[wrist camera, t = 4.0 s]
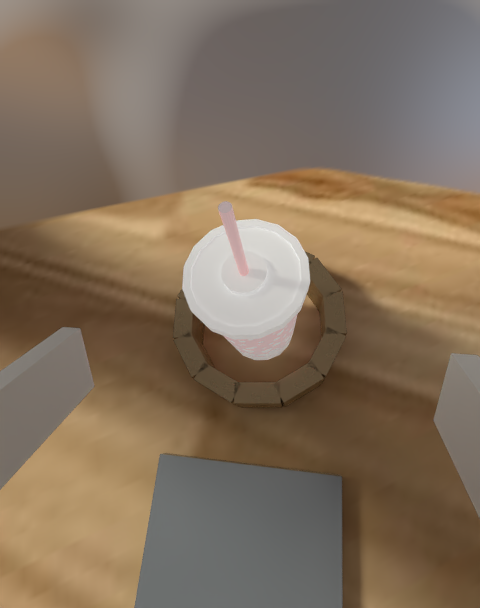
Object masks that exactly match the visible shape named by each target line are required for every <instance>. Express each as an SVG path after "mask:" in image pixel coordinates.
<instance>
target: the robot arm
mask: <svg viewBox="0 0 480 608" xmlns="http://www.w3.org/2000/svg"><path fill="white" fill-rule="evenodd" d="M93 388H94V382H93V378H92V374H91V370H90V366H89V362H88V358H87V354H86V349H85V345H84V341H83V337H82V333H81V329H80V328H70V327H62V328H61V329H59V330H58V331H56V332H55V333H53V334H52V335H51V336H49V337H48V338H46V339H45V340H44V341H42V342H41V343H39V344H38V345H37V346H35V347H34V348H32V349H31V350H30V351H28V352H27V353H25V354H24V355H23V356H21V357H20V358H18V359H17V360H15V361H14V362H13V363H11V364H10V365H8V366H7V367H6V368H4V369H3V370H1V371H0V489H1V488H2V487H3V486H4V485H5V484H6V483H7V482H8V481H9V480H10V479H11V477H12V476H13V475H14V474H15V473H16V472H17V471H18V470H19V469H20V468H21V466H22V465H23V464H24V463H25V462H26V461H27V460H28V459H29V458H30V457H31V456H32V454H33V453H34V452H35V451H36V450H37V449H38V448H39V447H40V446H41V445H42V443H43V442H44V441H45V440H46V439H47V438H48V437H49V436H50V435H51V434H52V432H53V431H54V430H55V429H56V428H57V427H58V426H59V425H60V424H61V423H62V422H63V420H64V419H65V418H66V417H67V416H68V415H69V414H70V413H71V412H72V411H73V409H74V408H75V407H76V406H77V405H78V404H79V403H80V402H81V401H82V400H83V399H84V397H85V396H86V395H87V394H88V393H89V392H90V391H91V390H92V389H93ZM433 421H434V423H435V425H436V427H437V429H438V431H439V433H440V435H441V438H442V440H443V442H444V444H445V446H446V448H447V450H448V452H449V455H450V457H451V459H452V461H453V463H454V465H455V467H456V469H457V472H458V474H459V476H460V478H461V480H462V482H463V484H464V486H465V489H466V491H467V493H468V495H469V497H470V499H471V501H472V503H473V505H474V508H475V510H476V512H477V514H478V516H479V518H480V357H479V356H478V355H469V354H455V353H451V355H450V359H449V363H448V367H447V370H446V374H445V378H444V382H443V386H442V389H441V393H440V397H439V401H438V405H437V408H436V412H435V416H434V420H433Z"/></svg>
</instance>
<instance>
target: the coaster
mask: <svg viewBox="0 0 480 608" xmlns="http://www.w3.org/2000/svg"><path fill="white" fill-rule="evenodd" d="M134 608H342V476H341V475H338V474H329V473H321V472H313V471H305V470H297V469H289V468H281V467H273V466H265V465H257V464H249V463H241V462H233V461H225V460H217V459H209V458H200V457H192V456H184V455H176V454H168V453H163V454H160V458H159V464H158V470H157V476H156V482H155V488H154V494H153V500H152V506H151V512H150V518H149V523H148V529H147V535H146V541H145V547H144V553H143V559H142V565H141V571H140V577H139V583H138V589H137V595H136V601H135V607H134Z"/></svg>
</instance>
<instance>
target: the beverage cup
mask: <svg viewBox="0 0 480 608" xmlns="http://www.w3.org/2000/svg"><path fill="white" fill-rule="evenodd" d="M218 210H219V213H220V216H221V219H222V222H223V225H222V226H220V227H218V228H215V229H213V230H211V231H210V232H209V233H208V234H207V235H206V236H204V237H203V238H202V239H201V240H200V241H199V242H198V243H197V244H196V245H195V246H194V247H193V249H192V251H191V253H190V255H189V257H188V259H187V261H186V263H185V265H184V271H183V285H182V289H183V292H184V295H185V297H186V300H187V303H188V305H189V308H190V310H191V311H192V313H193V314H194V315H196V316H197V317H198V318H199V319H200V320H201V321H202V322H203V323H204V324H205V325H206V326H207V327H208V328H209V329H210V330H211V331H213V332H215V333H218V334H221V335H223V336H224V337H225V338H226V339H227V340H228V341H229V342H230V343H231V344H232V345H233V346H234V347H235V348H236V349H237V350H238V351H239V352H240V353H241V354H242V355H243V356H246V357H248V358H251V359H253V360H269V359H271V358H273V357H275V356H278V355H280V354H281V353H282V352H283V351H284V350H285V349H286V348H287V346H288V345H289V343H290V340H291V338H292V335H293V331H294V327H295V323H296V318H297V314H298V312H299V311H300V310H301V308H302V305H303V302H304V300H305V297H306V294H307V292H308V289H309V285H310V272H309V260H308V257H307V255H306V253H305V251H304V250H303V248H302V246H301V244H300V243H299V241H298V239H297V238H296V237H294V236H293V235H292V234H290V233H289V232H288V231H286V230H285V229H283V228H282V227H281V226H279V225H277V224H273V223H269V222H266V221H262V220H258V219H250V220H238V221H236V219H235V216H234V212H233V208H232V205H231V203H230V202H227V201H226V202H222V203H221V204H219V206H218Z"/></svg>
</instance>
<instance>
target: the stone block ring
mask: <svg viewBox="0 0 480 608" xmlns="http://www.w3.org/2000/svg"><path fill="white" fill-rule="evenodd" d="M305 253H306V255H307V257H308V260H309V272H310V285H309V289H308V292H307V295H308V296H309V298H310V299H311V300H312V302H313V303H314V305H315V306H316V307H317V309H318V310H319V312H320V323H321V336H322V339H321V340H320V342H319V344H318V346H317V348H316V350H315V352H314V354H313V356H312V358H311V359H310V361H309V363H307V364H306V365H304V366H302V367H301V368H299V369H297V370H296V371H294V372H292V373H290V374H289V375H287V376H285V377H284V378H282V379H280V380H279V381H277V382H237V381H235V380H233V379H232V378H230V377H228V376H227V375H225V374H223V373H222V372H220V371H218V370H216V369H215V367H214V365H213V364H212V362H211V360H210V358H209V356H208V354H207V352H206V350H205V348H204V347H203V333H204V323H203V322H202V321H201V320H200V319H199V318H198V317H197V316H196V315H194V314H193V313H192V311H191V310H190V308H189V305H188V303H187V300H186V297H185V295H184V292H183V289H182V290H181V291H180V293H179V294H178V298H179V299H176V309H175V321H174V332H173V338H174V339H175V340H174V342H175V344H176V346H177V349H178V351H179V353H180V355H181V357H182V359H183V361H184V363H185V365H186V367H187V369H188V371H189V373H190V375H191V377H192V378H194V380H195V381H197V382H199V383H200V384H202V385H204V386H205V387H207V388H208V389H210V390H212V391H213V392H215V393H216V394H218V395H220V396H221V397H223V398H225V399H226V400H228V401H229V402H231V403H233V404H235V405H237V406H240V407H282V403H283V404H284V406H287V405H288V404H290V403H292V402H293V401H295V400H297V399H298V398H300V397H302V396H303V395H305V394H307V393H308V392H310V391H311V390H313V389H315V388H316V387H318V386H320V384H321V383H322V382H323V381H324V379H325V377H326V375H327V373H328V371H329V369H330V367H331V365H332V363H333V361H334V359H335V357H336V355H337V353H338V351H339V349H340V348H341V346H342V344H343V342H344V340H345V338H346V334H347V330H346V320H345V311H344V301H343V292H341V288H340V286H339V285H338V284H337V283H336V281H335V280H334V279H333V277H332V276H331V275H330V274H329V272H328V271H327V270H326V268H325V267H324V266H323V265H322V263H321V262H320V261H319V259H318V258H315V256H314V255H312V254H310V253H307V252H305ZM314 258H315V259H314Z"/></svg>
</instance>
